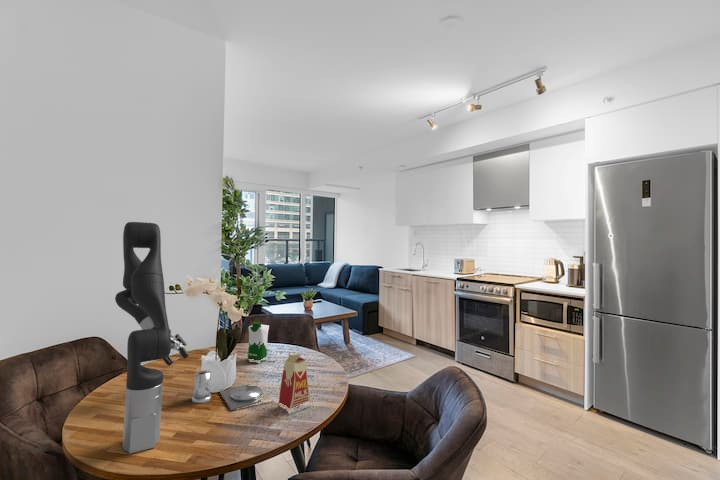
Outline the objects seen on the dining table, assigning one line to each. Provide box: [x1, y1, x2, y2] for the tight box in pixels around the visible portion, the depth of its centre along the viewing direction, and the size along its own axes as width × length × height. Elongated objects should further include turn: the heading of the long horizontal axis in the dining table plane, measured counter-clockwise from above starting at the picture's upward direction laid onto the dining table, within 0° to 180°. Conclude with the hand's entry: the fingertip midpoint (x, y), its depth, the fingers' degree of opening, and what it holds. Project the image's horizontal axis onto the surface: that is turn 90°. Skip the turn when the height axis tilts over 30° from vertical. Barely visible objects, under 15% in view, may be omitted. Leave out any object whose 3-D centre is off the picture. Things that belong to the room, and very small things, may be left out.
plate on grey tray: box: [219, 384, 262, 411], centre depth 133 cm, size 18×16×2 cm
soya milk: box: [247, 321, 270, 360], centre depth 175 cm, size 9×9×20 cm
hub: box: [191, 370, 212, 404], centre depth 129 cm, size 7×7×10 cm
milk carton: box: [278, 353, 311, 409], centre depth 127 cm, size 9×9×20 cm
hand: (179, 360), depth 131 cm, fingers open, 8 cm apart
